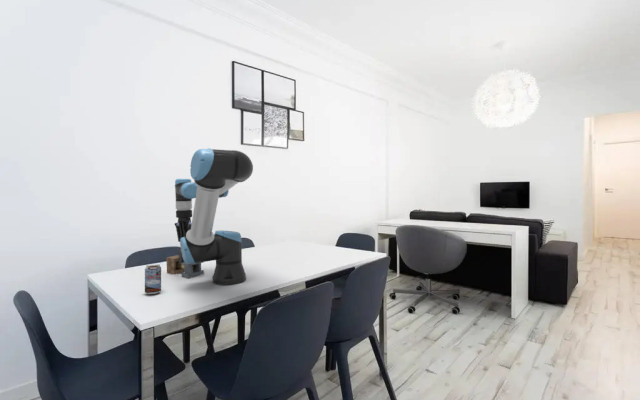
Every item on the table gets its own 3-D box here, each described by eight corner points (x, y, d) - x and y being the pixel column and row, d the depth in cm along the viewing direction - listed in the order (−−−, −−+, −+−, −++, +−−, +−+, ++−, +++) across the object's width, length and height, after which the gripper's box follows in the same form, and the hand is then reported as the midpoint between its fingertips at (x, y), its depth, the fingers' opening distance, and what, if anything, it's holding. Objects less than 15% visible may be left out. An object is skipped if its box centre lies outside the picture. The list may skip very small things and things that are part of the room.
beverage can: (144, 297, 132) (143, 267, 132) (145, 291, 139) (144, 263, 139) (161, 294, 135) (160, 265, 134) (162, 289, 142) (161, 261, 141)
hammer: (195, 270, 165) (194, 251, 165) (189, 271, 162) (188, 252, 162) (180, 267, 172) (180, 248, 171) (174, 268, 169) (173, 250, 168)
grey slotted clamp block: (203, 274, 166) (203, 260, 166) (188, 278, 159) (187, 264, 158) (197, 273, 169) (196, 259, 169) (181, 277, 161) (181, 263, 161)
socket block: (185, 271, 172) (184, 256, 172) (174, 274, 166) (173, 258, 166) (178, 270, 175) (177, 255, 175) (166, 273, 170) (166, 257, 169)
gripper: (198, 209, 165) (200, 256, 166) (182, 208, 172) (183, 253, 173) (185, 210, 159) (187, 259, 160) (169, 209, 166) (170, 256, 167)
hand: (185, 256), depth 167 cm, fingers closed
